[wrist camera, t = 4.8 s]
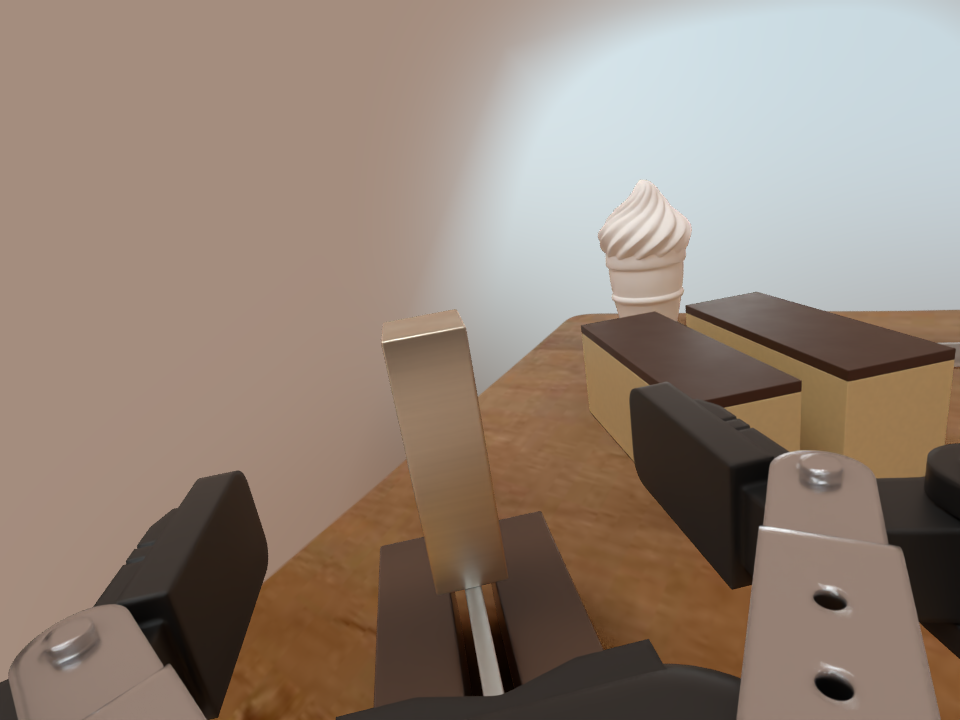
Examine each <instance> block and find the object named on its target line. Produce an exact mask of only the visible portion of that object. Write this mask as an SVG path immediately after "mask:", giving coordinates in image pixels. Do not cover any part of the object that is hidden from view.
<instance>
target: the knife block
mask: <svg viewBox="0 0 960 720" xmlns="http://www.w3.org/2000/svg"><path fill="white" fill-rule="evenodd" d="M499 526H500V531H501V537H502V543H503V549H504V555H505V561H506V567H507V573H508V579H507V580H503V581H498V582H494V583H491V584H492V590H493V596H494V601H495V607H496V612H497V618H498V622H499V626H500V631H501V635H502V639H503V643H504V647H505V652H506V656H507V660H508V664H509V668H510V673H511V677H512V681H513V685H514V689H515V688H517V687H519V686H521V685H523V684H525V683H526V682H528V681H530V680H532V679H534V678H536V677H538V676H540V675H542V674H544V673H546V672H548V671H550V670H552V669H554V668H556V667H557V666H559V665H561V664H563V663H565V662H567V661H569V660H571V659H573V658H575V657H579V656H583V655H587V654H591V653H595V652H599V651H603V650H604V649H603V647H602V645H601V643H600V641H599V638H598V636H597V634H596V632H595V630H594V627H593V625H592V623H591V621H590V619H589V616H588V614H587V612H586V610H585V607H584V605H583V603H582V601H581V599H580V596H579V594H578V592H577V590H576V588H575V585H574V583H573V581H572V579H571V576H570V574H569V572H568V570H567V568H566V565H565V563H564V561H563V559H562V557H561V554H560V552H559V550H558V548H557V545H556V543H555V541H554V539H553V537H552V534H551V532H550V530H549V528H548V526H547V523H546V521H545V519H544V517H543V515H542V512H541V511H538V512H534V513H529V514H525V515H520V516H516V517H511V518H507V519H502V520H499ZM461 696H473V695H472V689H471V682H470V676H469V669H468V663H467V656H466V649H465V643H464V636H463V630H462V624H461V619H460V615H459V610H458V605H457V600H456V595H455V592H451V593H447V594H442V595H437V594H436V589H435V585H434V580H433V576H432V571H431V567H430V562H429V558H428V553H427V549H426V544H425V540H424V537H421V538H417V539H412V540H408V541H403V542H399V543H394V544H390V545H385V546H382V547H381V548H380V569H379V593H378V617H377V641H376V665H375V688H374V708H375V707H379V706H383V705H387V704H391V703H395V702H399V701H403V700H407V699H411V698H415V697H461Z"/></svg>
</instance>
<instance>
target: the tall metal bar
mask: <svg viewBox="0 0 960 720" xmlns="http://www.w3.org/2000/svg"><path fill="white" fill-rule="evenodd" d="M381 345H382V349H383V354H384V359H385V363H386V368H387V372H388V377H389V381H390V386H391V390H392V395H393V399H394V404H395V408H396V413H397V417H398V422H399V426H400V431H401V435H402V440H403V445H404V449H405V454H406V458H407V463H408V467H409V472H410V476H411V481H412V485H413V490H414V494H415V499H416V503H417V508H418V512H419V517H420V521H421V526H422V530H423V535H424V540H425V544H426V549H427V553H428V558H429V562H430V567H431V571H432V576H433V580H434V585H435V589H436V594H437V595H442V594H447V593H451V592H455V591H460V590H464V589H465V593H466V599H467V605H468V610H469V616H470V622H471V628H472V633H473V639H474V645H475V651H476V656H477V662H478V668H479V674H480V679H481V685H482V691H483V696H497V695H501V694H504V689H503V685H502V680H501V675H500V671H499V666H498V661H497V657H496V652H495V648H494V643H493V638H492V634H491V629H490V624H489V620H488V615H487V611H486V606H485V601H484V597H483V592H482V587H481V585H486V584H490V583H494V582H498V581H503V580H507V579H508V573H507V567H506V561H505V555H504V549H503V543H502V537H501V531H500V526H499V520H498V514H497V508H496V502H495V496H494V490H493V484H492V478H491V472H490V467H489V461H488V455H487V449H486V443H485V437H484V431H483V425H482V419H481V414H480V408H479V402H478V396H477V390H476V384H475V378H474V372H473V366H472V360H471V355H470V349H469V343H468V337H467V331H466V327H465V325H464V323H463V321H462V319H461V317H460V315H459V313H458V311H457V310H455V309H454V310H448V311H443V312H438V313H432V314H427V315H422V316H416V317H411V318H406V319H400V320H395V321H389V322H385V323H383V330H382V340H381Z"/></svg>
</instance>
